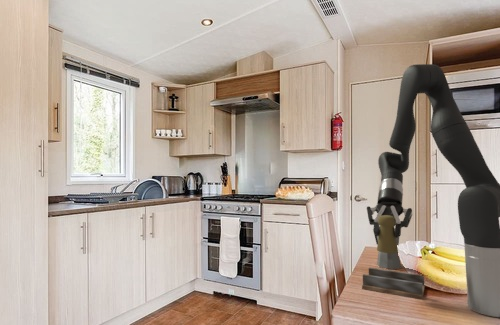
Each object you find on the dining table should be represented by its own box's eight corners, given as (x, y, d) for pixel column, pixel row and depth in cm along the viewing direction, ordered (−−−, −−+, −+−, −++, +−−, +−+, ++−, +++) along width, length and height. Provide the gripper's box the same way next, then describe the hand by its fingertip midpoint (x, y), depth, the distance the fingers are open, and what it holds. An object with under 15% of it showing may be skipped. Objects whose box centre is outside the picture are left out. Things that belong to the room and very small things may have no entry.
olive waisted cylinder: (400, 253, 89) (400, 216, 90) (379, 252, 91) (378, 216, 91) (394, 249, 95) (394, 214, 96) (374, 248, 96) (374, 214, 97)
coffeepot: (410, 270, 117) (408, 223, 118) (390, 271, 115) (388, 224, 116) (384, 260, 132) (382, 219, 133) (365, 261, 130) (364, 220, 131)
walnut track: (424, 286, 98) (424, 274, 99) (422, 299, 87) (421, 285, 88) (370, 278, 108) (370, 266, 108) (362, 288, 97) (361, 276, 97)
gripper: (366, 186, 104) (360, 226, 93) (413, 187, 97) (412, 229, 86) (370, 201, 108) (364, 240, 97) (414, 202, 101) (413, 245, 90)
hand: (386, 235), depth 92 cm, fingers closed on olive waisted cylinder, 5 cm apart
